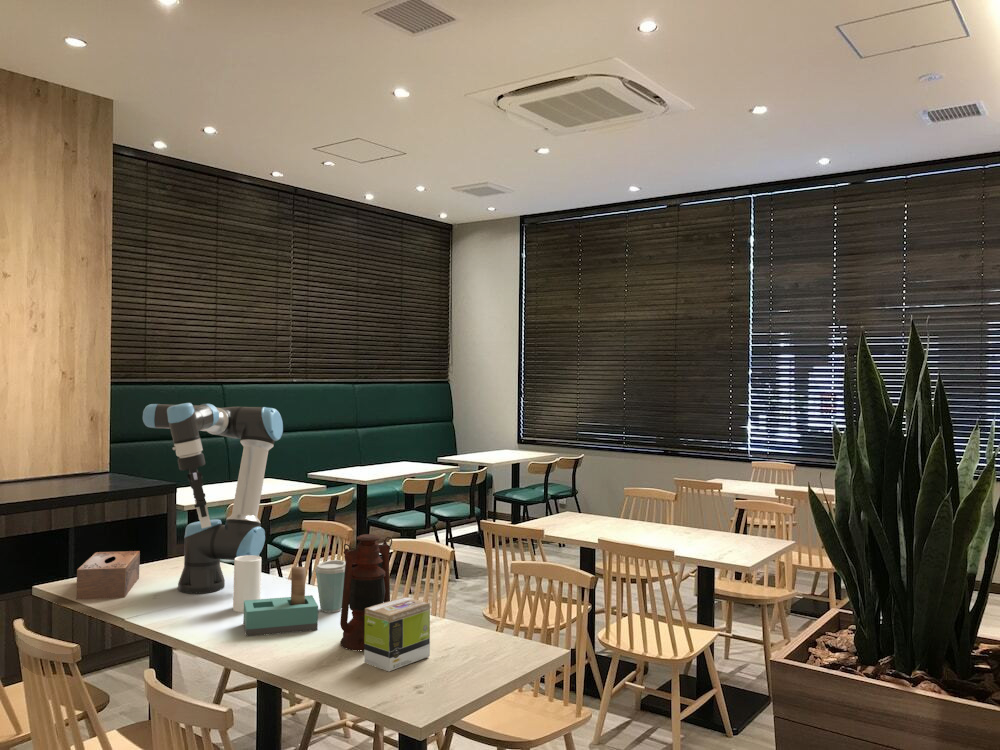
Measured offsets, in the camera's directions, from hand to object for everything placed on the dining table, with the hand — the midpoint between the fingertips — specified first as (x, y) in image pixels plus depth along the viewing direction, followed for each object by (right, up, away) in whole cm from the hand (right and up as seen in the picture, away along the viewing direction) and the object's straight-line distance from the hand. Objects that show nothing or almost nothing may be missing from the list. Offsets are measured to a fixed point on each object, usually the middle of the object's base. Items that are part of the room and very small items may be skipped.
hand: (205, 523), depth 237 cm
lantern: (+51, -31, -17) cm, 62 cm away
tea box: (+62, -31, -30) cm, 75 cm away
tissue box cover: (-45, -29, +32) cm, 62 cm away
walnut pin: (+29, -28, -3) cm, 40 cm away
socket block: (+24, -30, -5) cm, 39 cm away
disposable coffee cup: (+35, -30, +13) cm, 48 cm away
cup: (+9, -30, +13) cm, 33 cm away
